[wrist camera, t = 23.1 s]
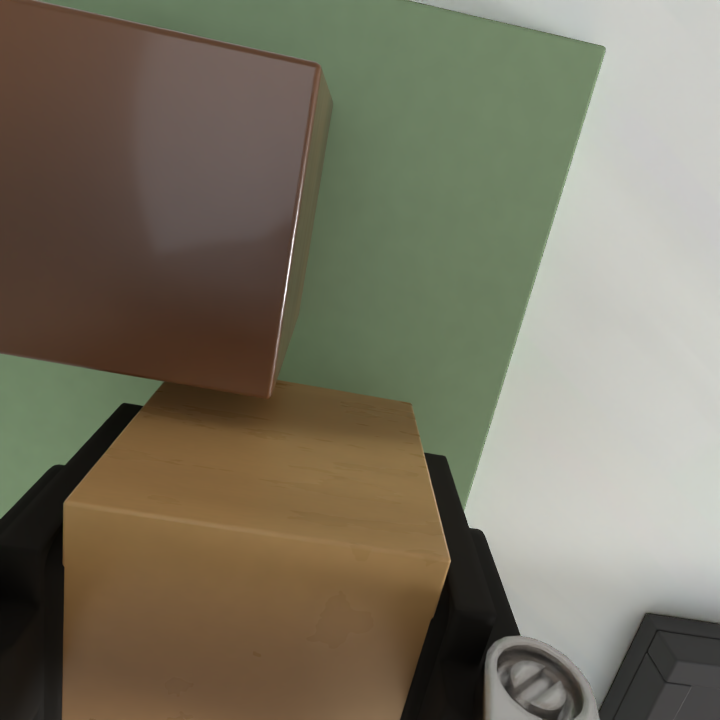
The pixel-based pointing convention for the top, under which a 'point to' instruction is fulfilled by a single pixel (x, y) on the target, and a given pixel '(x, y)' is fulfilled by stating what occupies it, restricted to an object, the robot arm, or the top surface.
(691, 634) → the dark grey flat tray
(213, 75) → the walnut block
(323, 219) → the mat
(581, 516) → the top surface
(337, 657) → the maple block
